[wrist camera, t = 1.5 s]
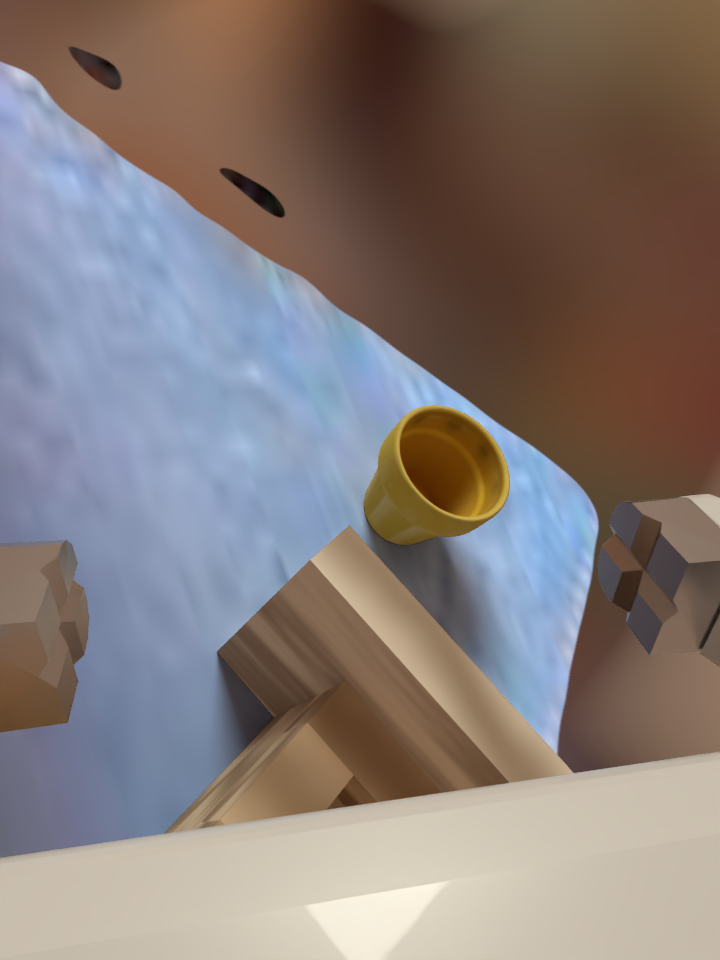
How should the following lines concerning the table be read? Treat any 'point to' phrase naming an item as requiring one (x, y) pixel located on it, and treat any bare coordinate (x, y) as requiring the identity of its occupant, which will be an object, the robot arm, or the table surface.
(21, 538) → the table surface
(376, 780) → the tan blocky piece
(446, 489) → the plant pot
